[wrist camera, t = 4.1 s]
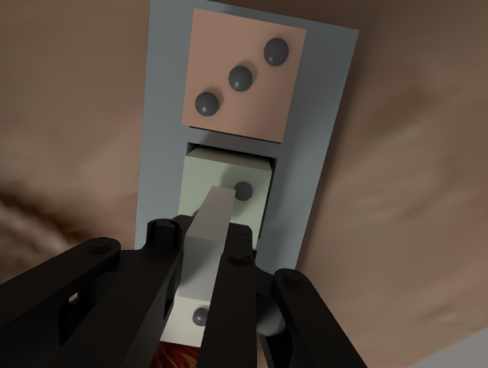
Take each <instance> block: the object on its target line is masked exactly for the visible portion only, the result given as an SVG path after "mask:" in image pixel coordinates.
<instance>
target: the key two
mask: <svg viewBox="0 0 488 368" xmlns="http://www.w3.org/2000/svg"><path fill="white" fill-rule="evenodd" d="M271 174H272V170H271V167H270V164H269V161H268V159H263V158H257V157H252V156H246V155H241V154H236V153H230V152H225V151H219V150H214V149H208V148H203V147H198V148H196V149H195V150H193V151H191V152H190V153H188V154H187V155H185V159H184V168H183V177H182V186H181V194H180V203H179V212H178V215H180V214H182V215H188V216H193V217H195V216H196V214H197V213H198V211H199V209H200V207H201V205H202V203H203V202H204V200H205V198H206V196H207V194H208V192H209V191H210V189H211V187H212V186H217V187H223V188H228V189H234V190H236V192H235V198H234V203H233V209H232V215H231V220H230V222H231V223H237V224H242V225H248V226H249V227H250V228H251V230H252V231H253V241H252V242H253V248H254V249H255V248H256V244H257V239H258V235H259V230H260V225H261V221H262V216H263V211H264V207H265V202H266V198H267V193H268V188H269V184H270V179H271Z"/></svg>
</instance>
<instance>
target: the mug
mask: <svg viewBox="0 0 488 368" xmlns="http://www.w3.org/2000/svg"><path fill="white" fill-rule="evenodd" d="M199 351H200V347H195V346H189V345H183V344H177V343H171V342H165V341H159V344H158V346H157V349H156V351H155V354H154V356H153V359H152V361H151V364H150V366H149V368H196V364H197V360H198V355H199Z"/></svg>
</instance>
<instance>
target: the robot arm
mask: <svg viewBox="0 0 488 368" xmlns="http://www.w3.org/2000/svg"><path fill="white" fill-rule="evenodd" d="M235 192H236V190H234V189H228V188H223V187H217V186H212V187H211V189H210V191H209V192H208V194H207V196H206V198H205V200H204V202H203V203H202V205H201V207H200V209H199V211H198V213H197V214H196V216H195V217H193V216H188V215H182V214H180V215H178V216H176V217H174V218H173V219H167V218H161V219H155V220H151V221H150V222H148V223H147V234H146V243H145V244H144V246H143V247H142V248H141V249H138V250H121V244H120V242H119V241H117V240H115V239H112V238H107V237H104V238H103V237H99V238H94V239H90V240H87V241H85V242H83V243H81V244H79V245H77V246H75V247H73V248H71V249H69V250H67V251H65V252H63V253H61V254H59V255H57V256H55V257H53V258H51V259H49V260H47V261H46V262H44V263H42V264H40V265H38V266H36V267H34V268H32V269H30V270H28V271H26V272H24V273H22V274H20V275H18V276H16V277H14V278H12V279H10V280H8V281H6V282H5V283H3V284H1V285H0V368H149V366H150V364H151V361H152V359H153V356H154V354H155V351H156V349H157V346H158V344H159V341H160V339H161V336H162V334H163V331H164V329H165V326H166V324H167V321H168V319H169V316H170V314H171V311H172V309H173V306H174V299H175V294H176V292H177V289H178V295H177V296H179V297H185V298H190V299H196V300H202V301H208V302H210V306H209V311H208V315H207V320H206V324H205V329H204V333H203V338H202V342H201V346H200V351H199V355H198V360H197V364H196V368H257V341H256V331H257V332H259V334H260V341H261V344H262V348H263V351H264V355H265V358H266V361H267V365H268V368H368V367H367V366H366V364H365V363H364V361H363V360H362V358H361V357H360V355H359V354H358V352H357V351H356V349H355V348H354V346H353V345H352V343H351V342H350V340H349V339H348V337H347V336H346V334H345V333H344V331H343V330H342V328H341V327H340V325H339V324H338V322H337V321H336V319H335V318H334V316H333V315H332V313H331V312H330V310H329V309H328V307H327V306H326V304H325V303H324V301H323V300H322V298H321V297H320V295H319V294H318V292H317V291H316V289H315V288H314V286H313V285H312V283H311V282H310V280H309V279H308V278H307V277H306V276H305V275H304V274H302V273H301V272H299V271H297V270H294V269H289V268H281V269H278V270H276V271H275V273H274V275H272V274H270V273H267V272H265V271H263V270H261V269H260V268H258V267H257V266H256V265H255V260H254V258H253V242H252V241H253V231H252V230H251V228H250V227H249V226H248V225H242V224H237V223H231V222H230V220H231V215H232V209H233V203H234V198H235ZM75 293H77V298H75V299H74V300H73V301H70V302H69V298H70V297H71V296H73V295H74V294H75Z"/></svg>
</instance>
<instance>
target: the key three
mask: <svg viewBox="0 0 488 368" xmlns="http://www.w3.org/2000/svg"><path fill="white" fill-rule="evenodd" d="M306 31H307V30H306V29H301V28H296V27H291V26H285V25H280V24H275V23H270V22H265V21H260V20H254V19H249V18H244V17H239V16H234V15H229V14H223V13H218V12H213V11H208V10H203V9H197V8H194V12H193V21H192V31H191V40H190V49H189V59H188V68H187V77H186V87H185V96H184V105H183V115H182V124H183V125H188V126H194V127H199V128H204V129H210V130H215V131H221V132H226V133H231V134H237V135H242V136H248V137H253V138H258V139H264V140H269V141H275V142H280V143H282V140H283V136H284V131H285V127H286V122H287V117H288V113H289V108H290V104H291V99H292V95H293V90H294V86H295V81H296V77H297V72H298V67H299V63H300V58H301V54H302V49H303V45H304V40H305V36H306Z"/></svg>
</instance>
